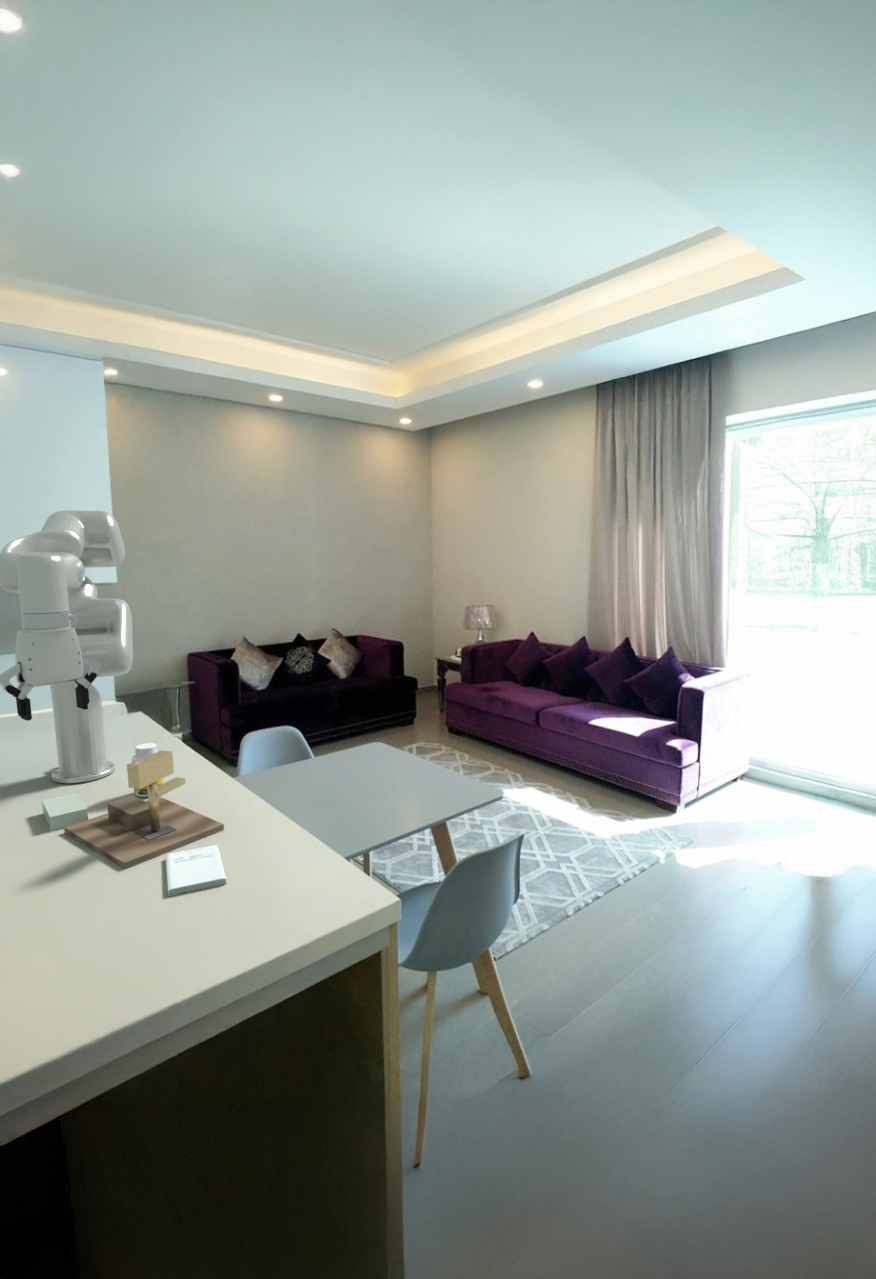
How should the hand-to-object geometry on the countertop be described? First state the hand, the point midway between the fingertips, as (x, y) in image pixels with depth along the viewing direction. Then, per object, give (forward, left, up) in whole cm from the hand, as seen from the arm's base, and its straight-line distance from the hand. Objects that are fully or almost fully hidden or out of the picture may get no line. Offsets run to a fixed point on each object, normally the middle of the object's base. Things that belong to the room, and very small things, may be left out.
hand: (55, 713), depth 119 cm
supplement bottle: (+1, +16, -20) cm, 26 cm away
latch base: (+18, +6, -20) cm, 28 cm away
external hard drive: (+38, +3, -21) cm, 44 cm away
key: (+22, +7, -19) cm, 29 cm away
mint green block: (0, 0, -21) cm, 21 cm away
